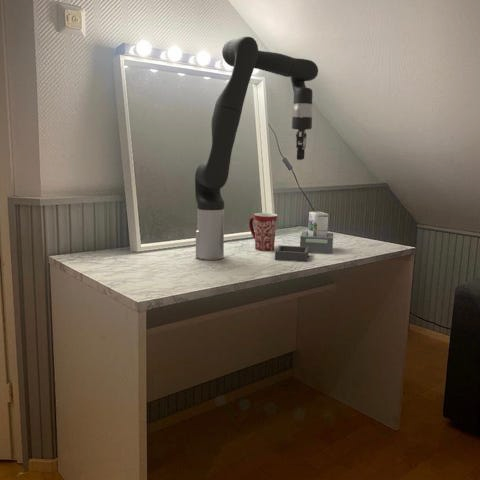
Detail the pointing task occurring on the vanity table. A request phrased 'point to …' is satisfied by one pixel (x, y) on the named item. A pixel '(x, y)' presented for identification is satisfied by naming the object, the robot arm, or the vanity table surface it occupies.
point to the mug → (264, 230)
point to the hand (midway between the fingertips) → (300, 159)
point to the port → (317, 243)
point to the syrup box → (318, 224)
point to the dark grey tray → (292, 253)
